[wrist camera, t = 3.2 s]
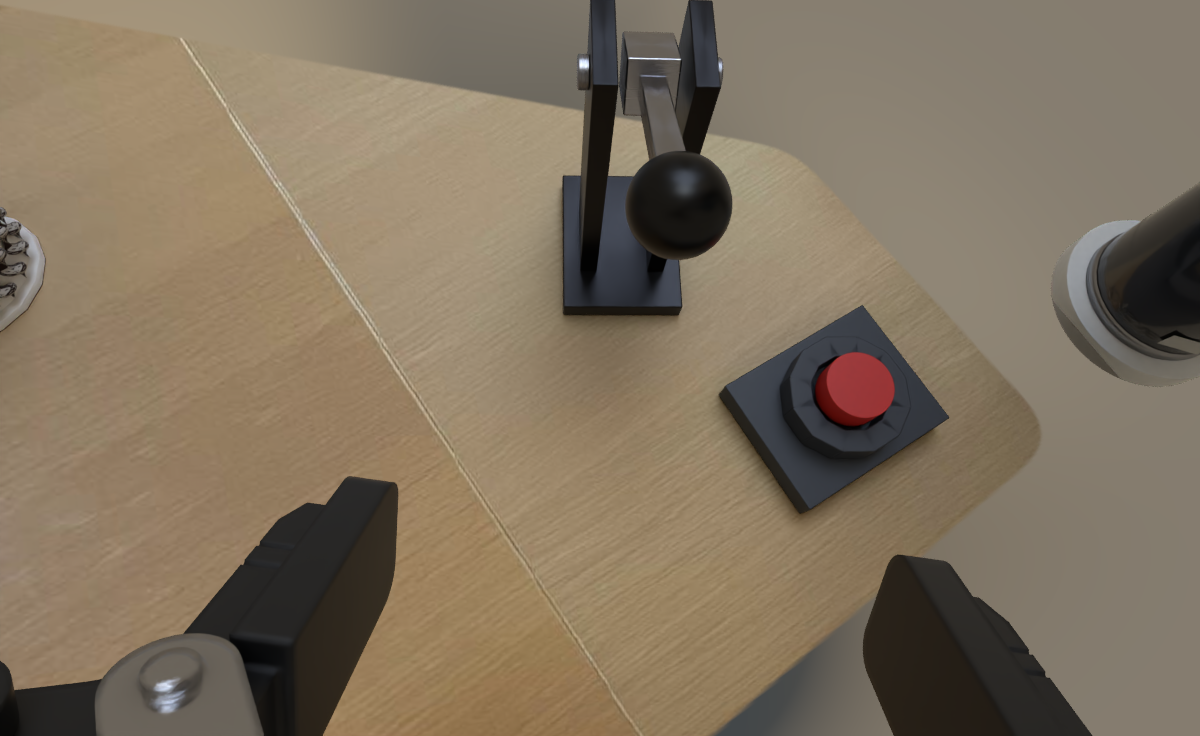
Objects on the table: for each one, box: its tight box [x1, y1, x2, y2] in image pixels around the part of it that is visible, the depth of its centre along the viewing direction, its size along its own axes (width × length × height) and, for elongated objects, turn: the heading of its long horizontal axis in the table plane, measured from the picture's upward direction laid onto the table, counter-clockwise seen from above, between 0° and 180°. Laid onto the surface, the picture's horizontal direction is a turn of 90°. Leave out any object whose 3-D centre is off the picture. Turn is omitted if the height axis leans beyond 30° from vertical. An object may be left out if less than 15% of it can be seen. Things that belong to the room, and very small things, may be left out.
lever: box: [619, 32, 732, 260], centre depth 26 cm, size 13×3×3 cm, turn 1°
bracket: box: [562, 0, 723, 315], centre depth 36 cm, size 9×7×17 cm
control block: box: [719, 305, 949, 513], centre depth 39 cm, size 10×8×4 cm
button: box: [815, 352, 895, 426], centre depth 37 cm, size 4×4×2 cm
